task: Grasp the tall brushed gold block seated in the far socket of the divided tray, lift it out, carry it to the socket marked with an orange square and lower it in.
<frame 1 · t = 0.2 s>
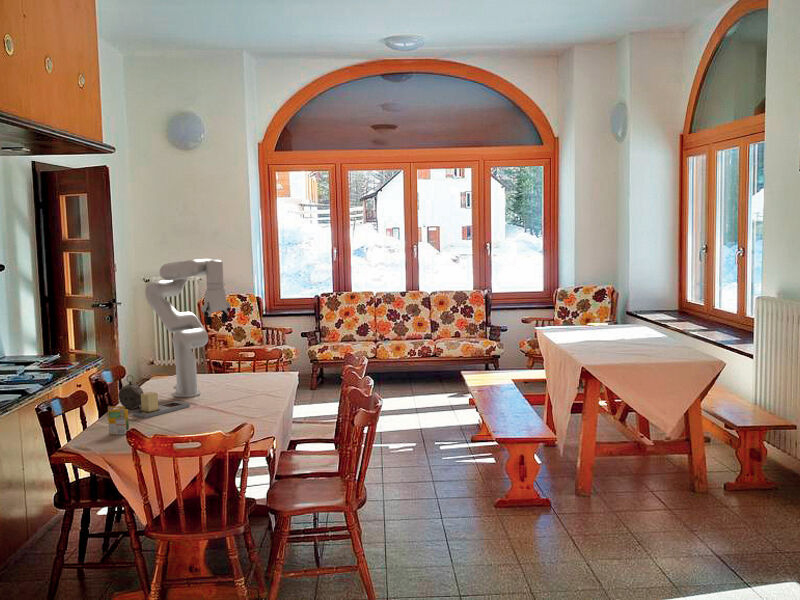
hand: (216, 323, 393), 37 cm above the table, tool pointing down, fingers open, 9 cm apart
alarm clock: (131, 411, 382), on the table
brushed gold block: (150, 413, 372), point 1 cm above the table, touching divided tray
divided tray: (161, 413, 377), on the table
crayon box: (119, 434, 344), on the table
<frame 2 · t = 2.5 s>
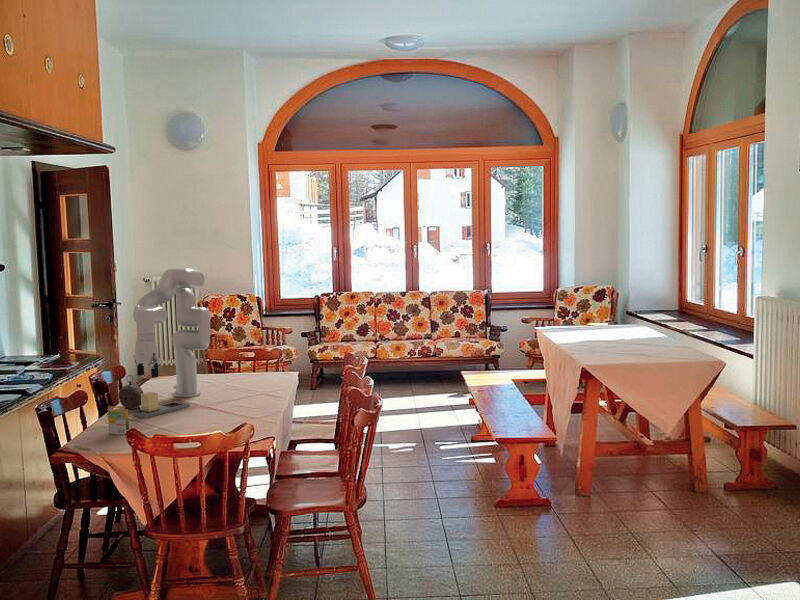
hand: (147, 376, 369), 18 cm above the table, tool pointing down, fingers open, 9 cm apart
nothing on the table moved.
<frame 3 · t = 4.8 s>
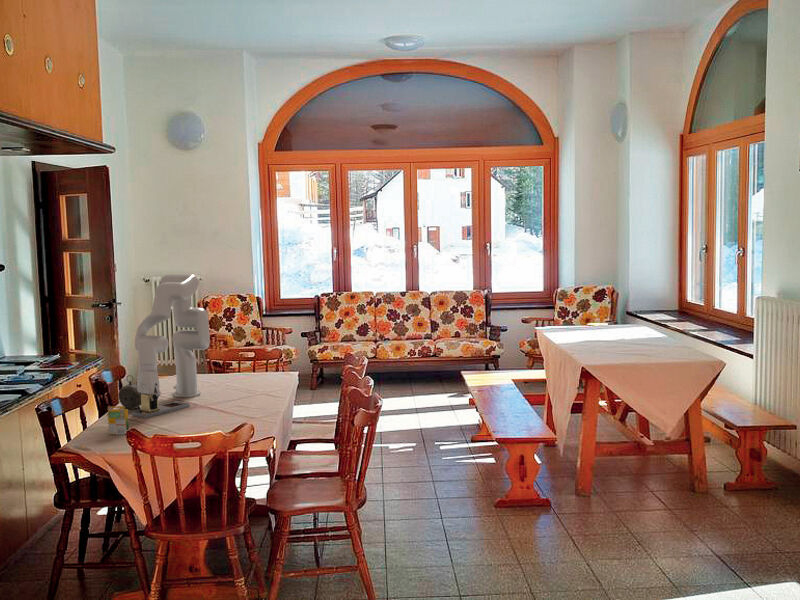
hand: (149, 407, 371), 4 cm above the table, tool pointing down, fingers closed on brushed gold block, 5 cm apart
brushed gold block: (150, 413, 372), point 1 cm above the table, touching gripper, divided tray
everything else where it was.
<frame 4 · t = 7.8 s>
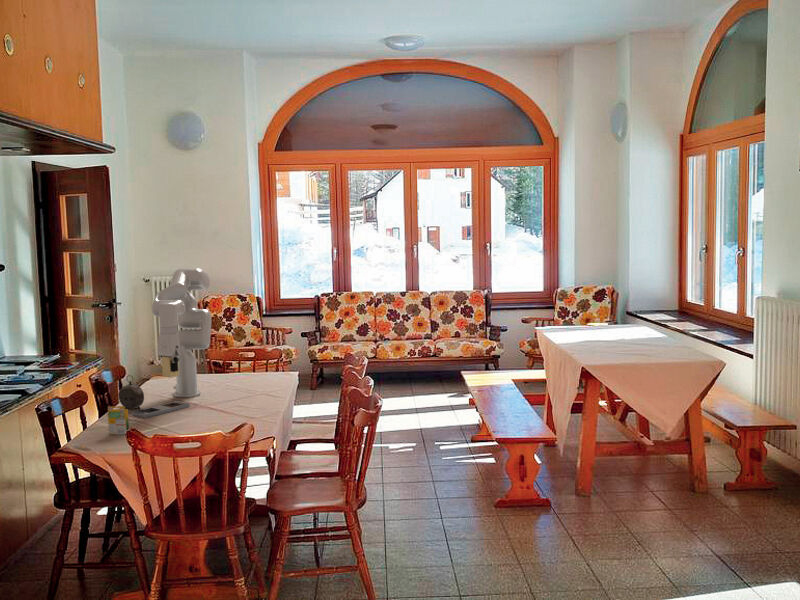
hand: (170, 370, 379), 18 cm above the table, tool pointing down, fingers closed on brushed gold block, 5 cm apart
brushed gold block: (170, 376, 379), point 16 cm above the table, touching gripper
everything else where it was.
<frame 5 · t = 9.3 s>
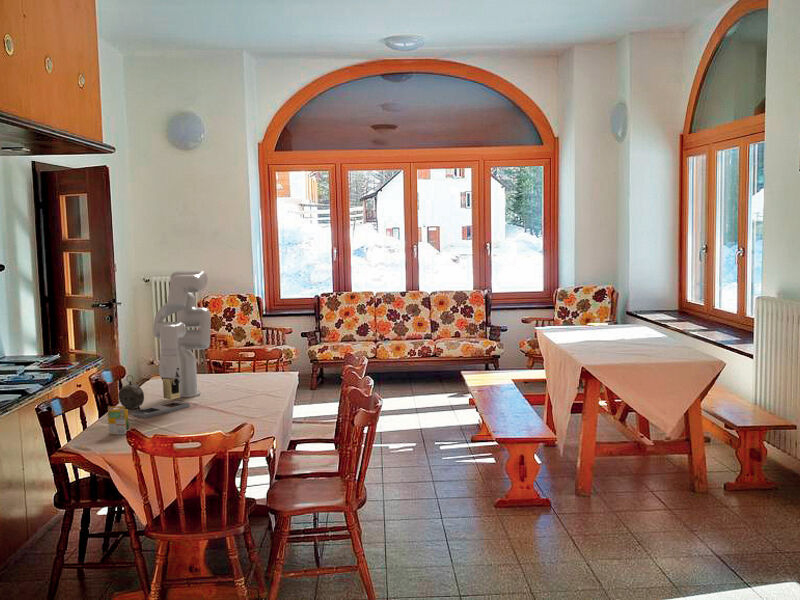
hand: (171, 392, 380), 8 cm above the table, tool pointing down, fingers closed on brushed gold block, 5 cm apart
brushed gold block: (171, 397, 380), point 6 cm above the table, touching gripper
everything else where it was.
when the fingers open (5 cm above the table, at t = 10.9 s): brushed gold block stays where it is, resting on divided tray.
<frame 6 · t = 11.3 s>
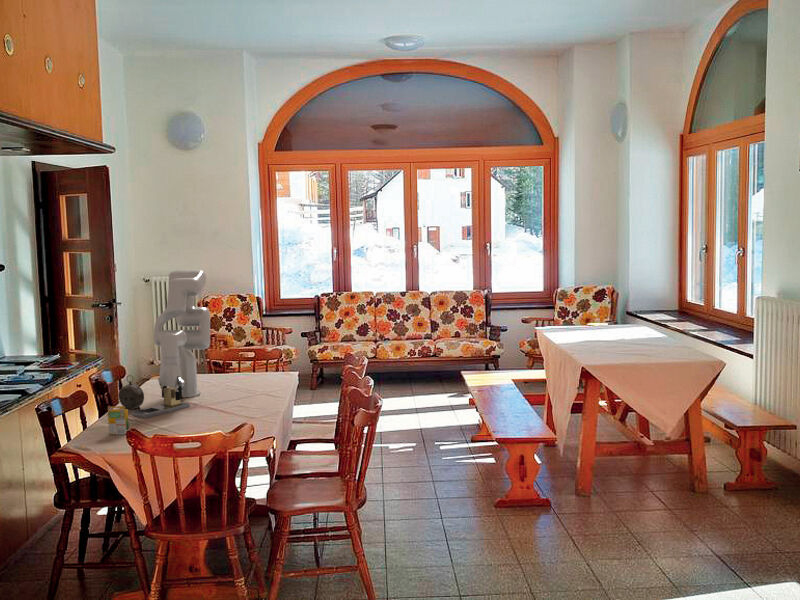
hand: (172, 398, 381), 5 cm above the table, tool pointing down, fingers open, 9 cm apart
brushed gold block: (172, 407, 381), point 1 cm above the table, touching divided tray
everything else where it was.
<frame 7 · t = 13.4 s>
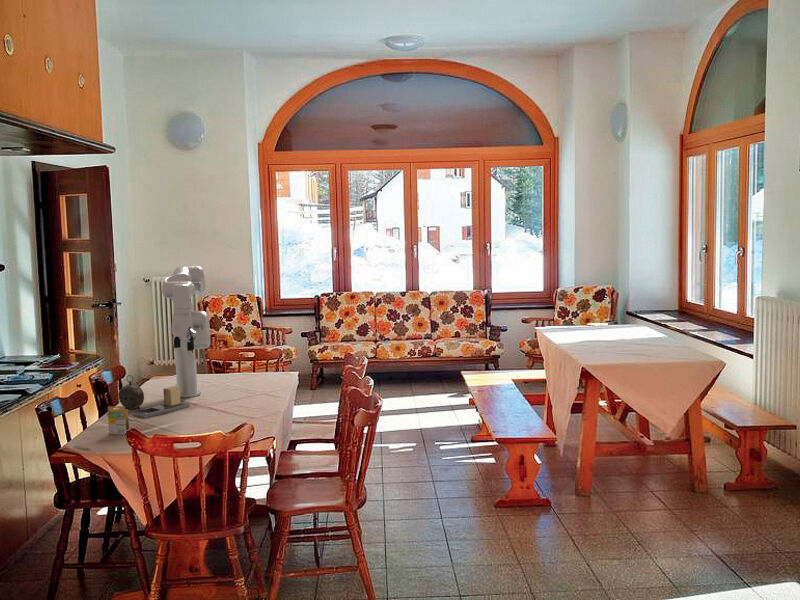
hand: (184, 349, 383), 27 cm above the table, tool pointing down, fingers open, 9 cm apart
nothing on the table moved.
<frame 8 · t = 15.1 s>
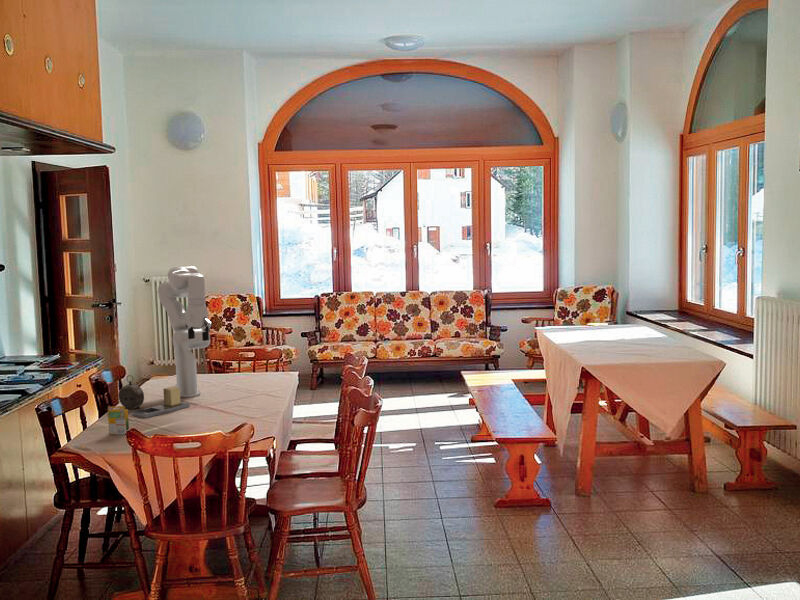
hand: (198, 339, 387), 30 cm above the table, tool pointing down, fingers open, 9 cm apart
nothing on the table moved.
at the end: brushed gold block 0.1 cm from the target spot on the divided tray, point 1.1 cm above the divided tray's base; brushed gold block tilted 0°; the gripper is holding nothing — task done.
